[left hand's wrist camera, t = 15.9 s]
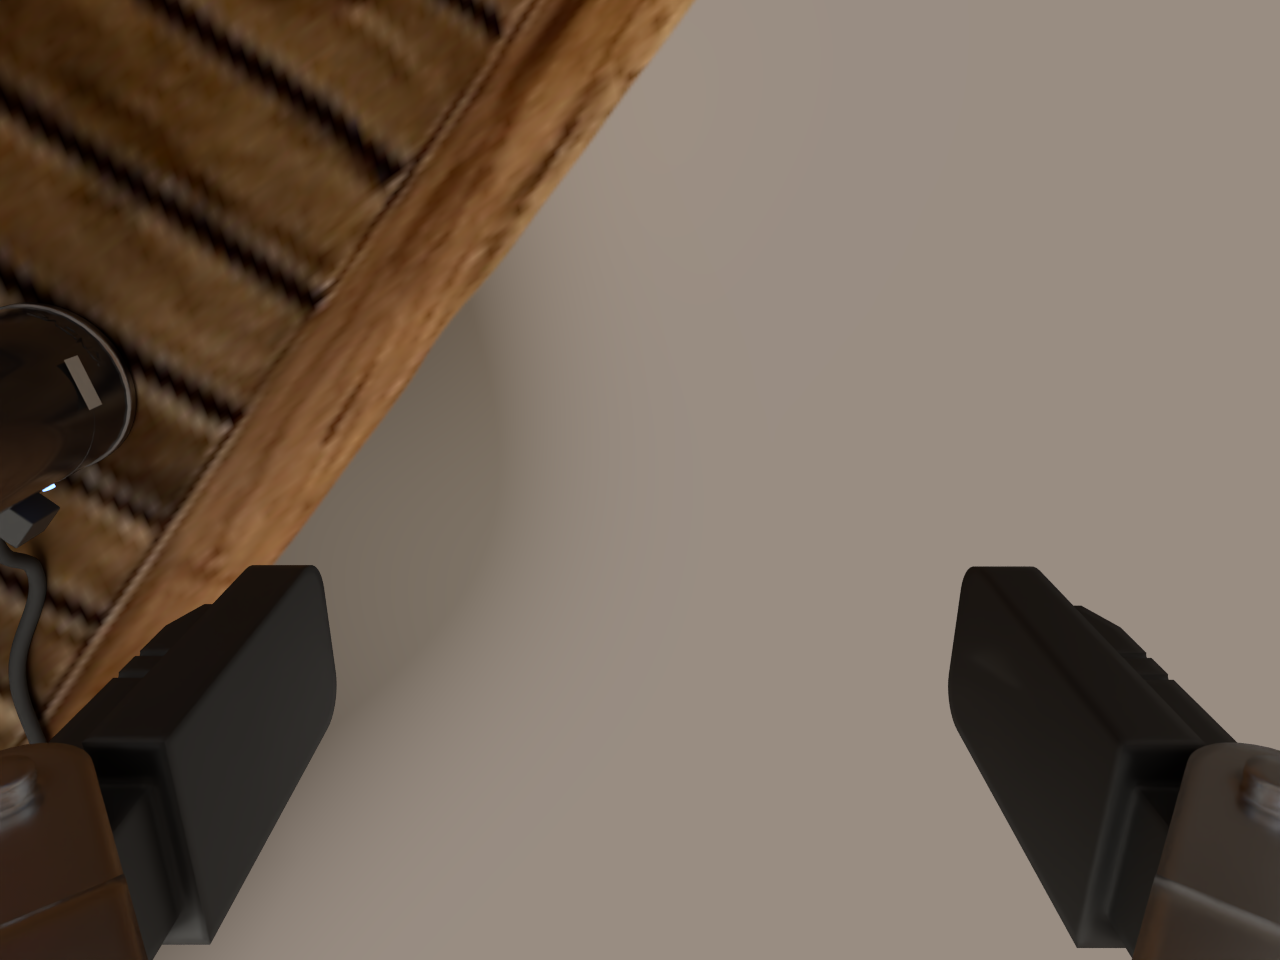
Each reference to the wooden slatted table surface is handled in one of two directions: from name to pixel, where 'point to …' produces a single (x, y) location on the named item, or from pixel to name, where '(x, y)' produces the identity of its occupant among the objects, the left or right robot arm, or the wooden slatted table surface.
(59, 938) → the left robot arm
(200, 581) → the wooden slatted table surface
